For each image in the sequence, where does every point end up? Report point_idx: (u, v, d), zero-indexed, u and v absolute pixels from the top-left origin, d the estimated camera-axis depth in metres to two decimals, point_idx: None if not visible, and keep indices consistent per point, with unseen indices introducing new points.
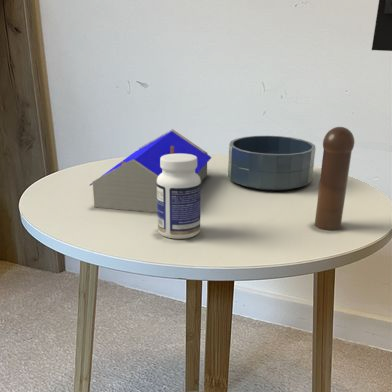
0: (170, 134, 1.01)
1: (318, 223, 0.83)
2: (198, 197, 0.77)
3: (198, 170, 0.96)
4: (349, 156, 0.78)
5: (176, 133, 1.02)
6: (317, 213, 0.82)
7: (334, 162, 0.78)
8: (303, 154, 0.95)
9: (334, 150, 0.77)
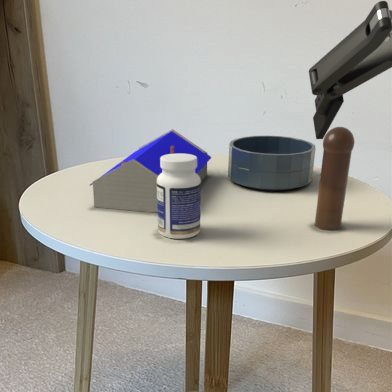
0: (170, 134, 1.01)
1: (318, 223, 0.83)
2: (198, 197, 0.77)
3: (198, 170, 0.96)
4: (349, 156, 0.78)
5: (176, 133, 1.02)
6: (317, 213, 0.82)
7: (334, 162, 0.78)
8: (303, 154, 0.95)
9: (334, 150, 0.77)
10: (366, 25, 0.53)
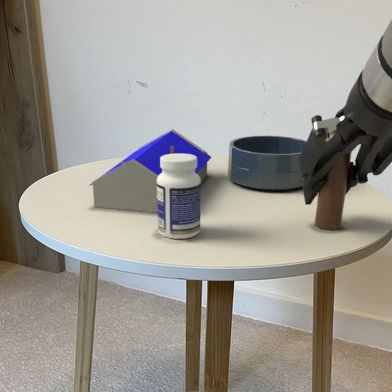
0: (170, 134, 1.01)
1: (318, 223, 0.83)
2: (198, 197, 0.77)
3: (198, 170, 0.96)
4: (349, 156, 0.78)
5: (176, 133, 1.02)
6: (317, 213, 0.82)
7: None
8: None
9: None
10: (313, 131, 0.70)
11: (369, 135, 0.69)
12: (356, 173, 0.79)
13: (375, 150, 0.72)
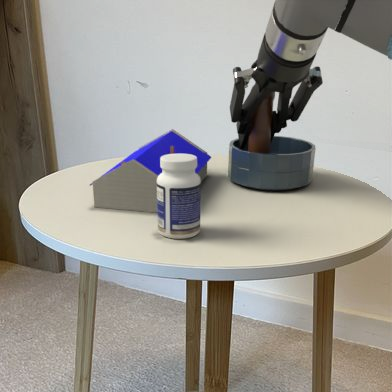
0: (170, 134, 1.01)
1: None
2: (198, 197, 0.77)
3: (198, 170, 0.96)
4: (271, 105, 0.95)
5: (176, 133, 1.02)
6: None
7: (258, 109, 0.95)
8: (303, 154, 0.95)
9: None
10: None
11: (279, 83, 0.87)
12: (278, 120, 0.96)
13: (286, 97, 0.89)
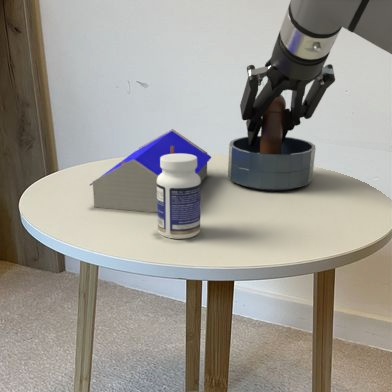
0: (170, 134, 1.01)
1: None
2: (198, 197, 0.77)
3: (198, 170, 0.96)
4: (282, 116, 0.98)
5: (176, 133, 1.02)
6: None
7: (270, 120, 0.98)
8: (303, 154, 0.95)
9: (269, 111, 0.97)
10: None
11: (292, 81, 0.89)
12: (291, 117, 0.98)
13: (300, 94, 0.91)
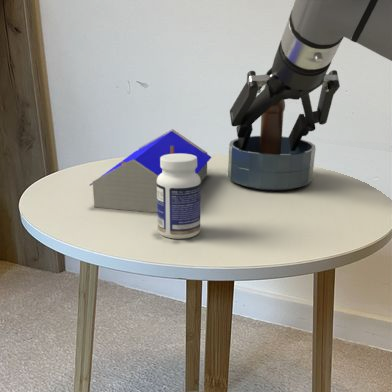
0: (170, 134, 1.01)
1: None
2: (198, 197, 0.77)
3: (198, 170, 0.96)
4: (281, 116, 0.97)
5: (176, 133, 1.02)
6: None
7: (269, 121, 0.97)
8: (303, 154, 0.95)
9: (268, 112, 0.97)
10: (247, 84, 0.88)
11: (294, 90, 0.88)
12: (306, 123, 0.97)
13: (305, 103, 0.90)
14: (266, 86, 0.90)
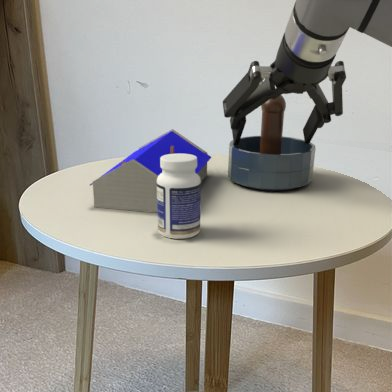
0: (170, 134, 1.01)
1: None
2: (198, 197, 0.77)
3: (198, 170, 0.96)
4: (282, 116, 0.98)
5: (176, 133, 1.02)
6: None
7: (270, 120, 0.98)
8: (303, 154, 0.95)
9: (269, 111, 0.97)
10: (248, 75, 0.85)
11: (297, 84, 0.86)
12: None
13: (313, 96, 0.88)
14: (266, 78, 0.88)
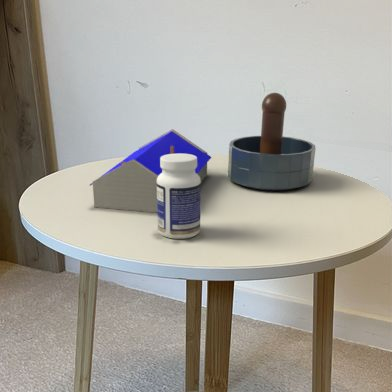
0: (170, 134, 1.01)
1: None
2: (198, 197, 0.77)
3: (198, 170, 0.96)
4: (282, 116, 0.98)
5: (176, 133, 1.02)
6: None
7: (270, 120, 0.98)
8: (303, 154, 0.95)
9: (269, 111, 0.97)
10: None
11: None
12: None
13: None
14: None
